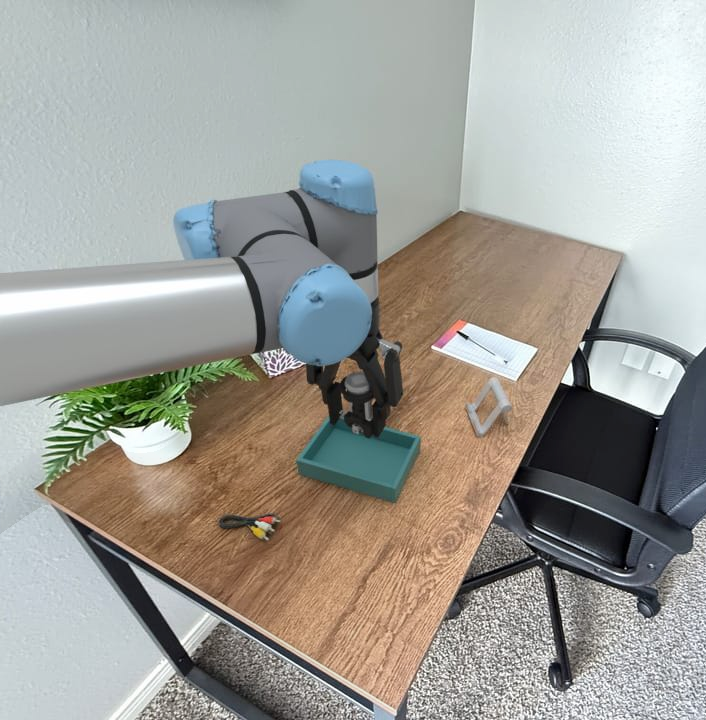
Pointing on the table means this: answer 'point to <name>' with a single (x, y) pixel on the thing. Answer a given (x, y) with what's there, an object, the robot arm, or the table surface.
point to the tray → (360, 459)
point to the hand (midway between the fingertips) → (358, 424)
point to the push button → (358, 403)
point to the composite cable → (252, 523)
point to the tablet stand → (501, 407)
